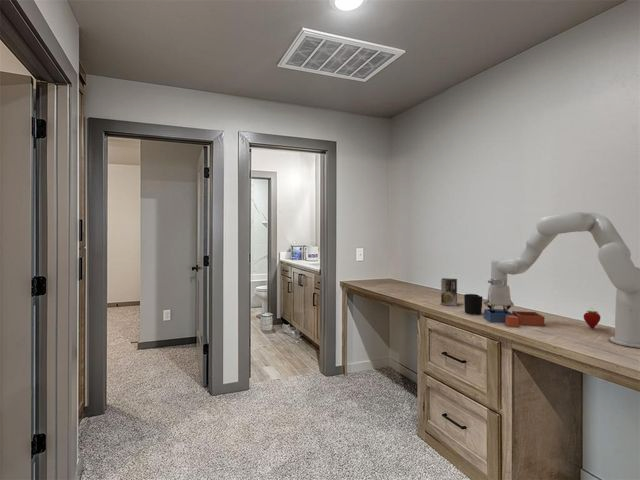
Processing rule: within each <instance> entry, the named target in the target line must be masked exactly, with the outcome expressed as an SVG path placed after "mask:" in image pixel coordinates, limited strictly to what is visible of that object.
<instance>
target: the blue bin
mask: <svg viewBox="0 0 640 480" xmlns="http://www.w3.org/2000/svg"><path fill="white" fill-rule="evenodd" d="M506 315H509V316H514V314H512V312H511V311H509V310H508V311H507V314H501V313H491V310H490V309H489V308H484V309H483V318H484V319H485V320H487V321H488V322H489V323H497V324H498V323H499V324H500V323H501V324H505V319H506Z"/></svg>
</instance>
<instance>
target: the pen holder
mask: <svg viewBox="0 0 640 480" xmlns="http://www.w3.org/2000/svg"><path fill="white" fill-rule="evenodd" d="M463 296H464V297H463V299H464V301H463V303H464V304H463V305H464V313H465V314H467V315H473V316H474V315H475V316H477V315H478V316H479V315H481V314H482V311H483V295H482V296H480V295H479V294H476V293H465V294H464V295H463Z"/></svg>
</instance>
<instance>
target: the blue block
mask: <svg viewBox="0 0 640 480" xmlns="http://www.w3.org/2000/svg"><path fill="white" fill-rule="evenodd" d="M494 311H495V313H501V314H505V311H504V310H503V308H494Z"/></svg>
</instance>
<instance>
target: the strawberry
mask: <svg viewBox="0 0 640 480" xmlns="http://www.w3.org/2000/svg"><path fill="white" fill-rule="evenodd" d="M590 308H591V309H593V308H592V307H590ZM583 320H584V322H585V323H586V324H587V325H588V326H589V328H590V329H594V328H596V327H597V325H598V324H599V323H600V322H601V315H600V313H599V312H598V311H595V310H587V311H585V313H584V314H583Z"/></svg>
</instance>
